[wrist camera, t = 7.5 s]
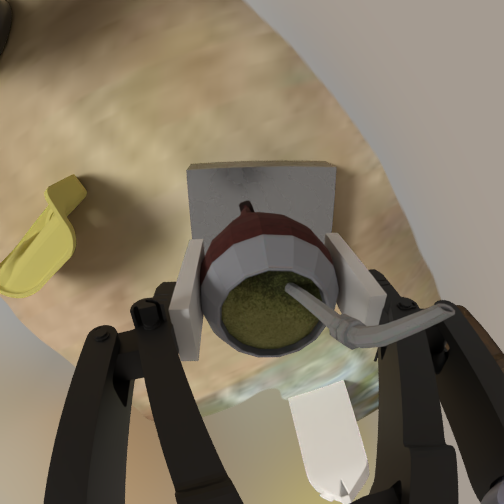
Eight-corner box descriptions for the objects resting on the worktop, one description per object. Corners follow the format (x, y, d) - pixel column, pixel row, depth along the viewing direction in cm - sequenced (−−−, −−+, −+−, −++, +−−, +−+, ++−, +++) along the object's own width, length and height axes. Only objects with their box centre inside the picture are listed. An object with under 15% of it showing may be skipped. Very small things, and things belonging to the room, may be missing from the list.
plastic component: (80, 170, 32) (38, 192, 23) (113, 213, 35) (81, 246, 26) (13, 252, 36) (-22, 284, 27) (41, 285, 39) (11, 322, 30)
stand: (191, 164, 33) (186, 170, 30) (325, 161, 34) (336, 167, 31) (201, 282, 40) (199, 298, 37) (317, 276, 41) (324, 292, 38)
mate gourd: (229, 299, 22) (232, 506, 8) (185, 202, 18) (92, 407, 5) (326, 267, 21) (420, 455, 8) (297, 162, 18) (460, 302, 4)
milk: (349, 407, 58) (381, 505, 34) (301, 423, 59) (322, 523, 35) (343, 379, 53) (383, 494, 29) (288, 397, 54) (310, 516, 30)
